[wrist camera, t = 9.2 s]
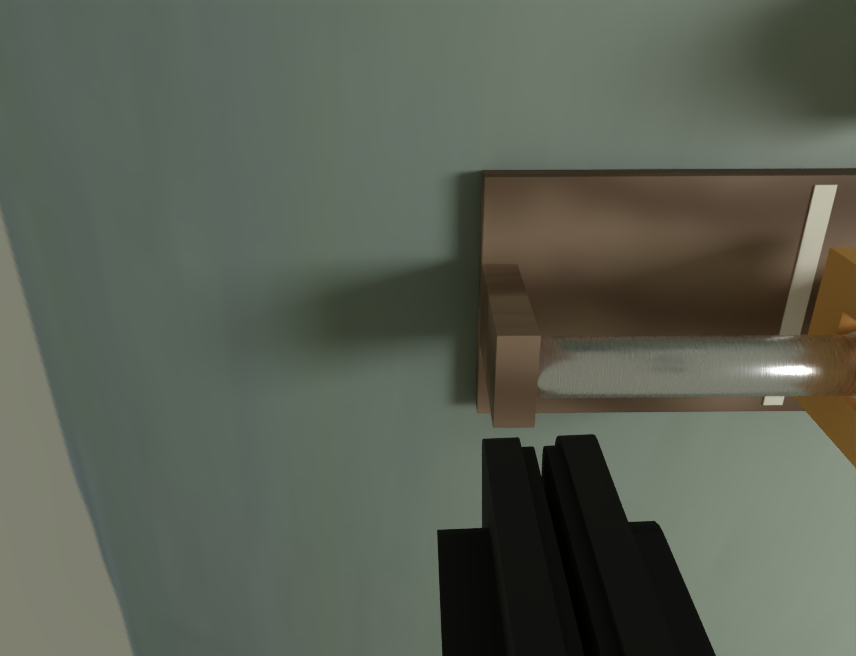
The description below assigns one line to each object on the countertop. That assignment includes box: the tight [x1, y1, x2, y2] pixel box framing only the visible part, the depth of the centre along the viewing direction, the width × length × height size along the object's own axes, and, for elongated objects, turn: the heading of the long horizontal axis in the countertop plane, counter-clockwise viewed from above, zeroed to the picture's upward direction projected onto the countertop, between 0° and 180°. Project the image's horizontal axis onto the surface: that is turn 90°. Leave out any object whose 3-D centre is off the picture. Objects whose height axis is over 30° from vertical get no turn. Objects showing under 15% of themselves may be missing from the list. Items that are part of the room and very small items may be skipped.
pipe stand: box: [476, 168, 856, 428], centre depth 39 cm, size 15×25×11 cm, turn 90°
